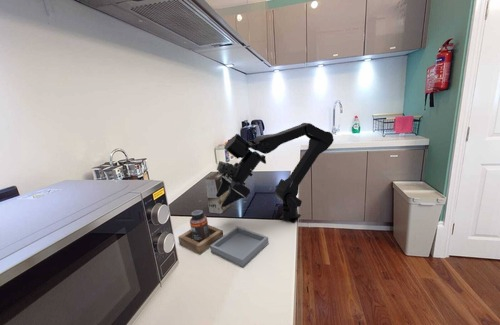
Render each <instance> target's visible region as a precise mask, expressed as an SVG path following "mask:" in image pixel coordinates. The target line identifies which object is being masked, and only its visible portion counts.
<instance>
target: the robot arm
mask: <svg viewBox="0 0 500 325" xmlns="http://www.w3.org/2000/svg"><path fill="white" fill-rule="evenodd" d="M304 136H305V137H307V138H308V139H309V140H308V146H307V149H306V151H305V152H304V154H303V155H302V156H301V158H300V160H299V162H297V164H296V166H295V167H294V169H293V170H292V172H291V173H290V175H289V176H288V177H287V178H286V179H282V178H281V179H280V180H279V181H278V184H277V185H276V186H275V190H274V195H275V197H276V198H277V199H278V200H279V201H280V202H281V203H282V214H281V216H280V217H279V219H280V220H282V221H283V220H284V221H286V222H291V223H293V224H294V223H295V222H296V221H297V220H299V218H301V217H302V215H301V214H300V213H298V208H299V207H301V206H302V203H303V201H302V200H301V199H300V198H299V197H297V196H298V193H299V187H300V184H301V182H302V181H303V180H304V178H305V177H306V174H308V172H309V170H310V169H311V168H312V166H313V165H314V163H315V161H316V160H317V158H318V157H319V156H320V154H322V153H323V152H325V151H327V150H328V149H329V148H330V147H331V146H332V144H333V143H334V135H333V133H332V132H330V131H326V130H323V129H321V128H319V127H317V126H315V125H314V124H313V123H311V122H302V123H301V124H299V125H296V126H292V127H291V128H288V129H285V130H281V131H279V132H276V133H271V134H270V133H269V134H263V135H262V134H261V135H258V136H255V138H254V139H253V140H249V141H247V140H245V139H244V138H243V137H242V136H241V135H240V134H238V133H236V134H235V135H233V136H232V137H230V139H228V140H227V142H226V143H225V145H224V150H225V151H226V152H228V153H229V154H230V155H232V156H233V157H234V158H236V159H240V158H241V159H240V161H238V162H235V163H234V164H233V163H229V162H224V161H218V165H217V167H216V171H217V173H220V174H221V175H222V176H221V175H220V177H221V184H220V187H219V189H218V192H217V194H216V196H217V197H220V196H221V195H223V194H224V193H225V192H226V191H228V190H229V193H228V194H227V196H226V198H225V199H224V201H223V203H222V206H223V207H225V206H227V205H229V204H230V205H231V204H232V203H235V202H237V201H238V200H241V199H245V198H248V197H249V195H250V194H251V189H250V188H249V187H248V186H247V185H246V181H247V180H248V178H249V177H252V176H253V175H254V174H253V173H252V172H253V171H254V170H255V169H256V167H257V166H258V165H259V163H260V162H261V163H263V164H264V165H266V164H267V161H266V154H269V153H271V152H273V151H275V150H277V148H278V147H279V146H281V145H283V144H285V143H288V142H291V141H293V140H296V139H299V138H301V137H304ZM252 150H253V151H252ZM260 153H262V155H261V154H260ZM264 154H265V155H264Z"/></svg>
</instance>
